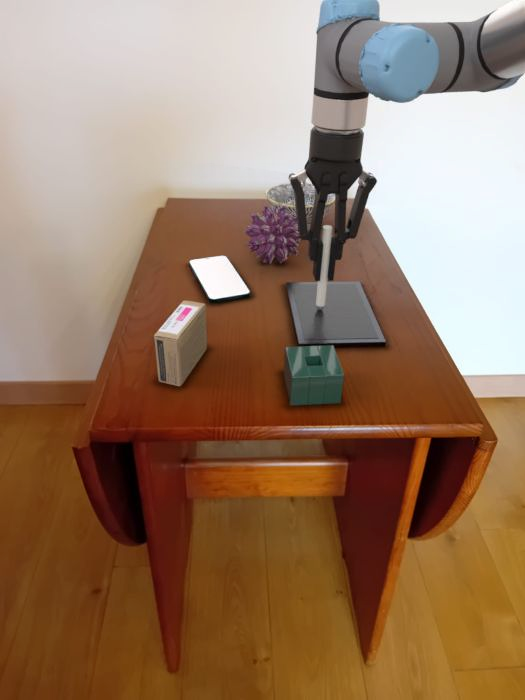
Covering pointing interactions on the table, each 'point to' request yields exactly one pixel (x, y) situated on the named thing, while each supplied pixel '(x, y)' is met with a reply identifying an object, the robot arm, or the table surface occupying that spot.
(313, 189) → the bowl
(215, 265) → the smartphone
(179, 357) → the ink box
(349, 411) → the table surface
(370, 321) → the tablet
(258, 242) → the flower
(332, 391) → the pen block
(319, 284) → the stylus
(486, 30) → the robot arm
